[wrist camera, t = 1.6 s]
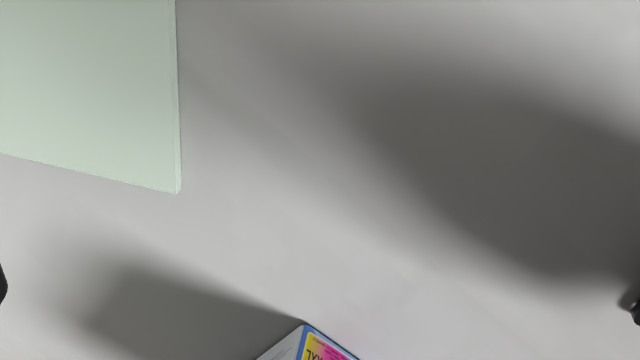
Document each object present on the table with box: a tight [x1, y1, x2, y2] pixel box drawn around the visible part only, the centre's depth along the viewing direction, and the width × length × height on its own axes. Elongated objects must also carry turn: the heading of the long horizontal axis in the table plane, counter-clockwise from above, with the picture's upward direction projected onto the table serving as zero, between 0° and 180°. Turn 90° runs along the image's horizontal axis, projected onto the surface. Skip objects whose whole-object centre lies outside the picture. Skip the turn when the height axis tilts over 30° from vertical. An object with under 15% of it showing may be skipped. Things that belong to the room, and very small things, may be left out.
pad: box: [0, 0, 182, 195], centre depth 22 cm, size 10×10×1 cm
